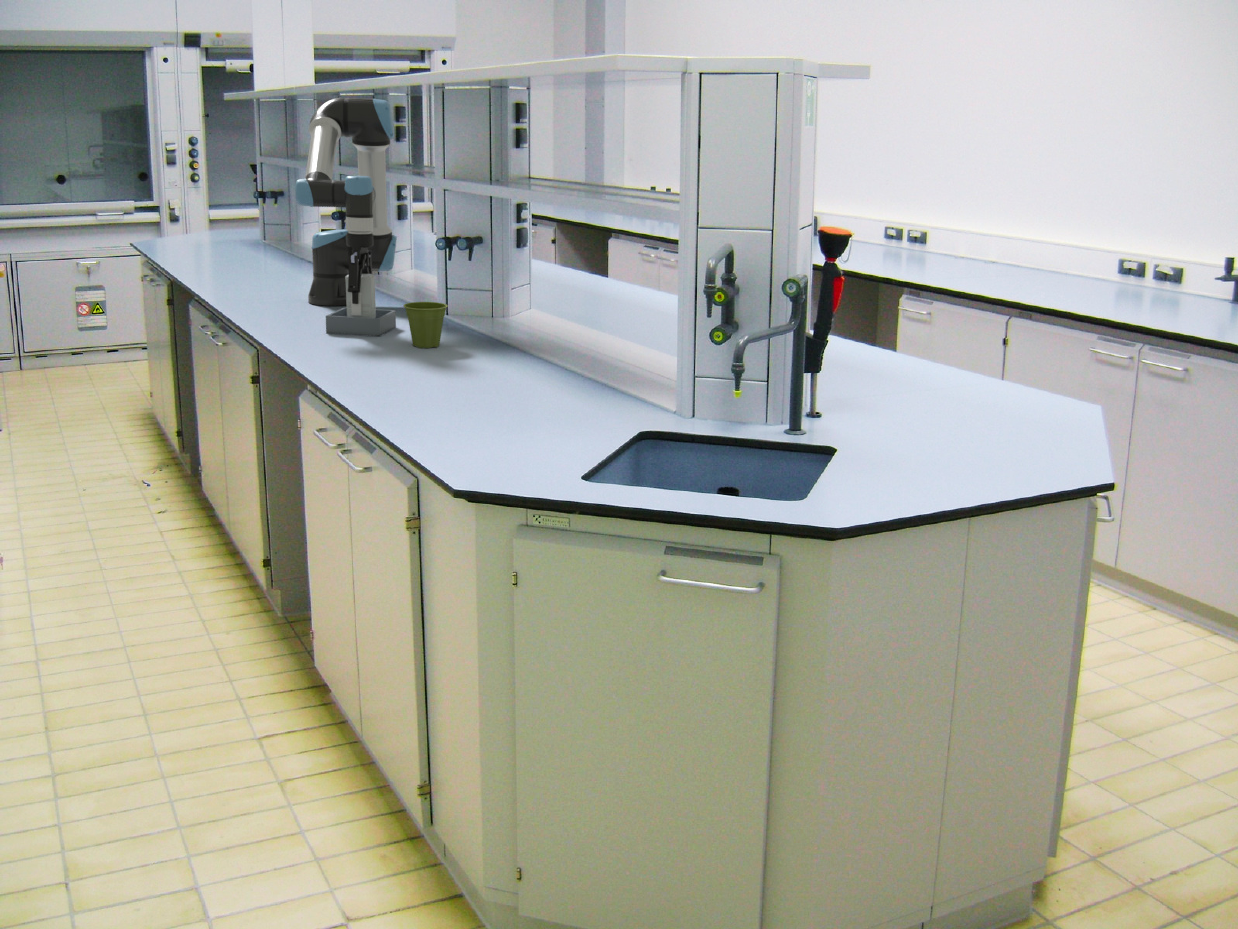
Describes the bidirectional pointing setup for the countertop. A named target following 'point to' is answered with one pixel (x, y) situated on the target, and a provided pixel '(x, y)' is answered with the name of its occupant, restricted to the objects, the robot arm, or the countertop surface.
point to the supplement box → (364, 297)
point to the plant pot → (425, 322)
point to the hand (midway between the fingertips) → (361, 312)
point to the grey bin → (360, 323)
